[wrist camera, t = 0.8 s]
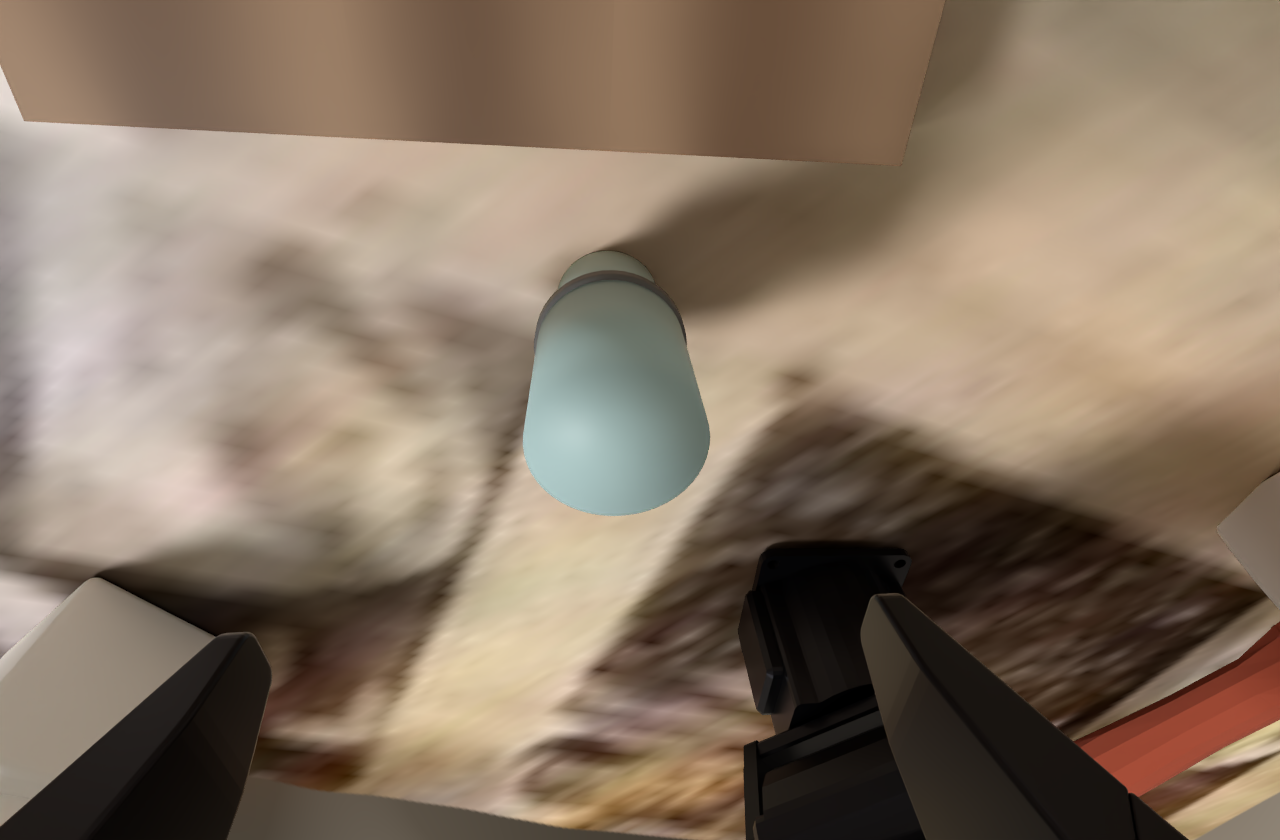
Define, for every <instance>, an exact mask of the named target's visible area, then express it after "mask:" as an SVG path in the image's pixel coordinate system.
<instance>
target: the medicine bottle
mask: <svg viewBox="0 0 1280 840" xmlns="http://www.w3.org/2000/svg"><path fill="white" fill-rule="evenodd" d="M214 638H215V636H213V635H211V634H209V633H207V632H205V631H203V630H201V629H200V628H198V627H196V626H194V625H192V624H190V623H188V622H186V621H184V620H182V619H180V618H178V617H176V616H174V615H172V614H170V613H168V612H166V611H164V610H162V609H161V608H159V607H157V606H155V605H153V604H151V603H149V602H147V601H145V600H143V599H141V598H139V597H137V596H135V595H133V594H131V593H129V592H127V591H125V590H123V589H122V588H120V587H118V586H116V585H114V584H112V583H110V582H108V581H106V580H104V579H102V578H91V579H89V580H87V581H86V582H84V583H83V584H82V585H81V586H80V587H79V588H78V589H76V590H75V591H74V592H73V593H72V594H71V595H70V596H69V597H68V598H66V599H65V600H64V601H63V602H62V603H61V604H60V605H59V606H58V607H57V608H55V609H54V610H53V611H52V612H51V613H50V614H49V615H48V616H47V617H45V618H44V619H43V620H42V621H41V622H40V623H39V624H38V625H37V626H35V627H34V628H33V629H32V630H31V631H30V632H29V633H28V634H27V635H25V636H24V637H23V638H22V639H21V640H20V641H19V642H18V643H17V644H16V645H14V646H13V647H12V648H11V649H10V650H9V651H8V652H7V653H6V654H4V656H3V657H2V658H1V659H0V826H1V825H2V824H4V823H5V822H6V821H7V820H8V819H9V818H10V817H11V816H13V815H14V814H15V813H16V812H17V811H18V810H19V809H21V808H22V807H23V806H24V805H25V804H26V803H27V802H29V801H30V800H31V799H32V798H33V797H34V796H35V795H36V794H38V793H39V792H40V791H41V790H42V789H43V788H44V787H46V786H47V785H48V784H49V783H50V782H51V781H52V780H54V779H55V778H56V777H57V776H58V775H59V774H60V773H61V772H63V771H64V770H65V769H66V768H67V767H68V766H69V765H71V764H72V763H73V762H74V761H75V760H76V759H77V758H79V757H80V756H81V755H82V754H83V753H84V752H85V751H86V750H88V749H89V748H90V747H91V746H92V745H93V744H94V743H96V742H97V741H98V740H99V739H100V738H101V737H102V736H104V735H105V734H106V733H107V732H108V731H109V730H110V729H111V728H113V727H114V726H115V725H116V724H117V723H118V722H119V721H121V720H122V719H123V718H124V717H125V716H126V715H127V714H129V713H130V712H131V711H132V710H133V709H134V708H135V707H136V706H138V705H139V704H140V703H141V702H142V701H143V700H144V699H146V698H147V697H148V696H149V695H150V694H151V693H152V692H154V691H155V690H156V689H157V688H158V687H159V686H160V685H161V684H163V683H164V682H165V681H166V680H167V679H168V678H169V677H171V676H172V675H173V674H174V673H175V672H176V671H177V670H179V669H180V668H181V667H182V666H183V665H184V664H185V663H186V662H188V661H189V660H190V659H191V658H192V657H193V656H194V655H196V654H197V653H198V652H199V651H200V650H201V649H202V648H204V647H205V646H206V645H207V644H208V643H209V642H210V641H211V640H213V639H214Z"/></svg>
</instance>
